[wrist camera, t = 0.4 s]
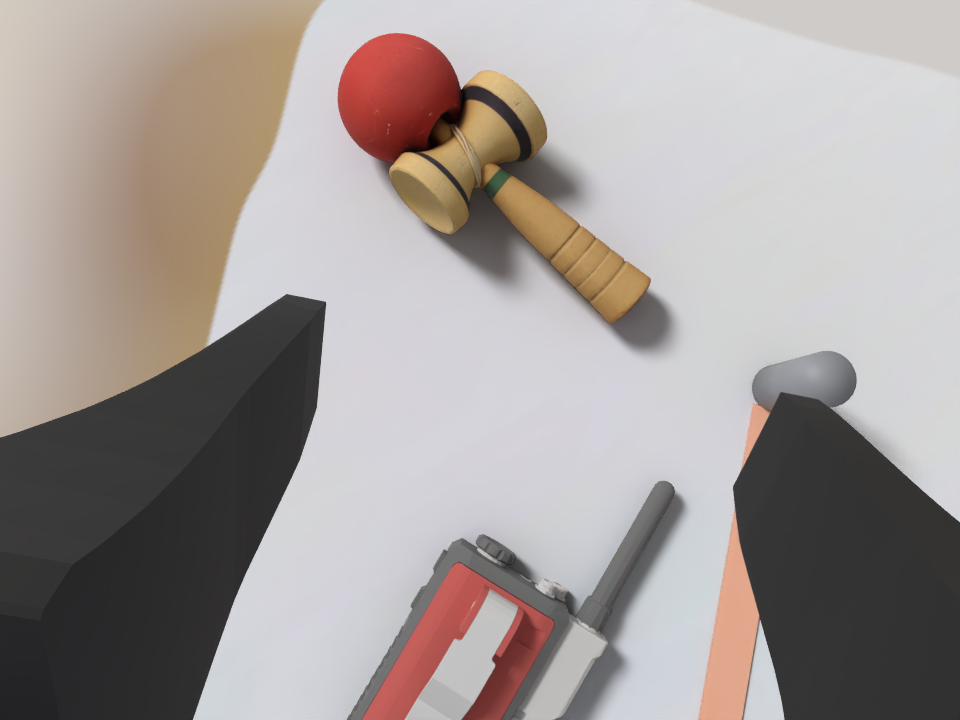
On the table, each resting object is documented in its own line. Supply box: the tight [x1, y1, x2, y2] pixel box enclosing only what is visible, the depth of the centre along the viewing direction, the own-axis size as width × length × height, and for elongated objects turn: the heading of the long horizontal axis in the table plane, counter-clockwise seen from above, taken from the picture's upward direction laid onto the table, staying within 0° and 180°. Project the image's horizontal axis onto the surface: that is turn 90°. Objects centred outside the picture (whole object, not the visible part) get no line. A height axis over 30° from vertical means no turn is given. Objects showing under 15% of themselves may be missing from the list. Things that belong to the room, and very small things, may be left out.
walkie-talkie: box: [347, 481, 675, 720], centre depth 36 cm, size 9×4×20 cm
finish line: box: [699, 351, 856, 720], centre depth 35 cm, size 30×2×6 cm, turn 168°
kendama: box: [338, 33, 651, 324], centre depth 38 cm, size 8×6×18 cm
